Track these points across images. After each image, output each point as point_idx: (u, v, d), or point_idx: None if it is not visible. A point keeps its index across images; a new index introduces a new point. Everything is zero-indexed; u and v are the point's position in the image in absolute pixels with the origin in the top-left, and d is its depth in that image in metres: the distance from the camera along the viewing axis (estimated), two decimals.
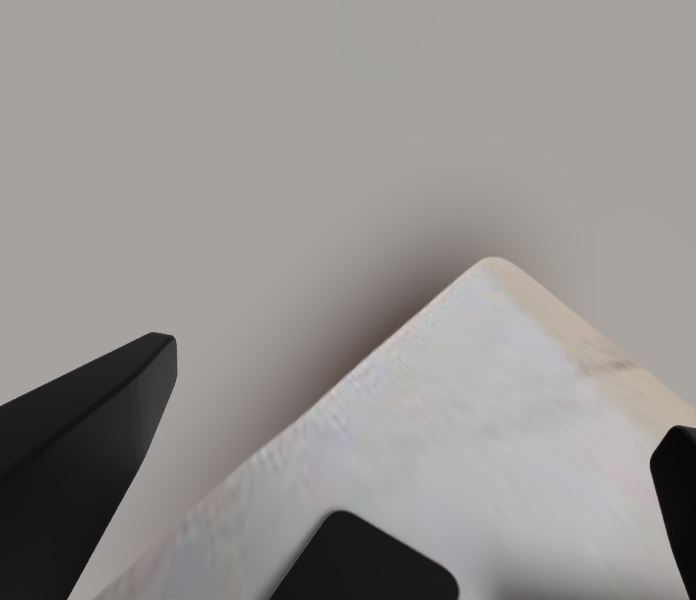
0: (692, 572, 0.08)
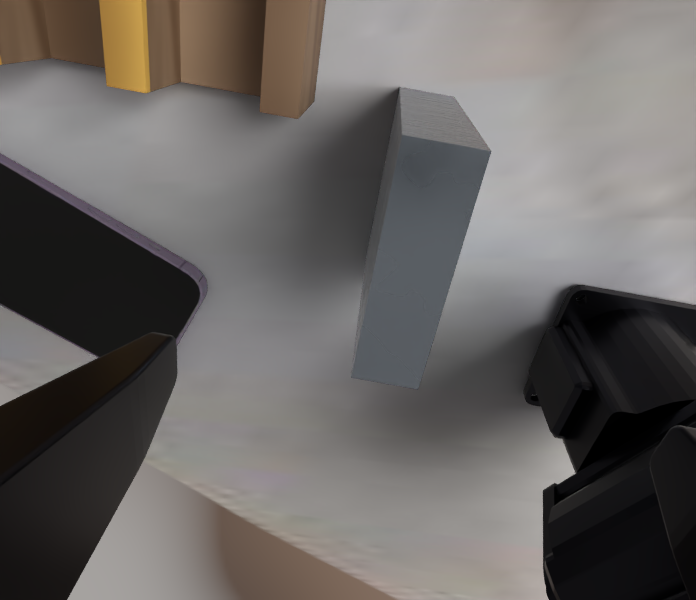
0: (692, 572, 0.08)
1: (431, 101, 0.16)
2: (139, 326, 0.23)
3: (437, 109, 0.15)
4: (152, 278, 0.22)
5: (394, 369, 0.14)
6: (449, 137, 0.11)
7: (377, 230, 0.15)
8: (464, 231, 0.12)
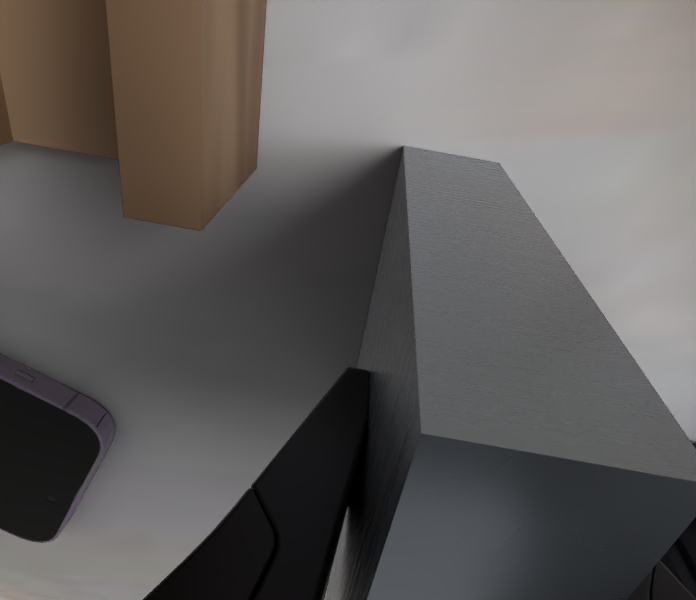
0: None
1: (466, 187, 0.08)
2: (18, 480, 0.16)
3: (484, 218, 0.07)
4: (26, 420, 0.14)
5: None
6: (561, 395, 0.04)
7: (359, 472, 0.07)
8: None
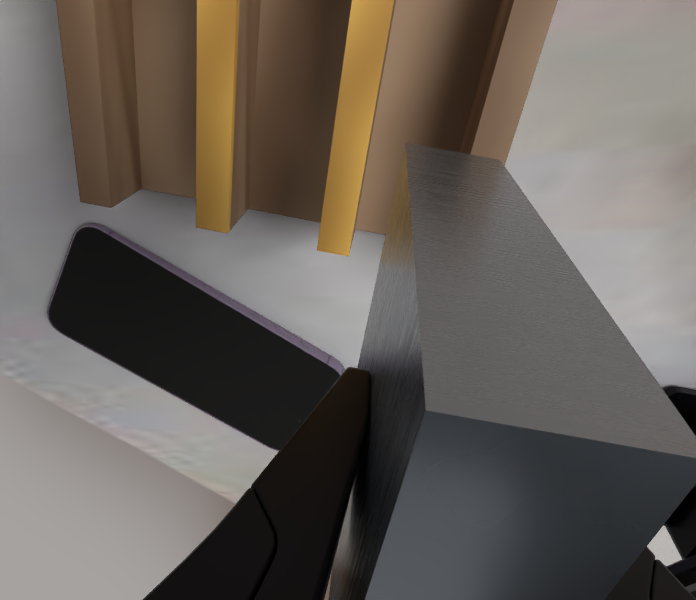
0: None
1: (467, 182, 0.08)
2: (283, 408, 0.27)
3: (485, 212, 0.07)
4: (300, 370, 0.25)
5: None
6: (559, 377, 0.04)
7: (363, 460, 0.07)
8: None
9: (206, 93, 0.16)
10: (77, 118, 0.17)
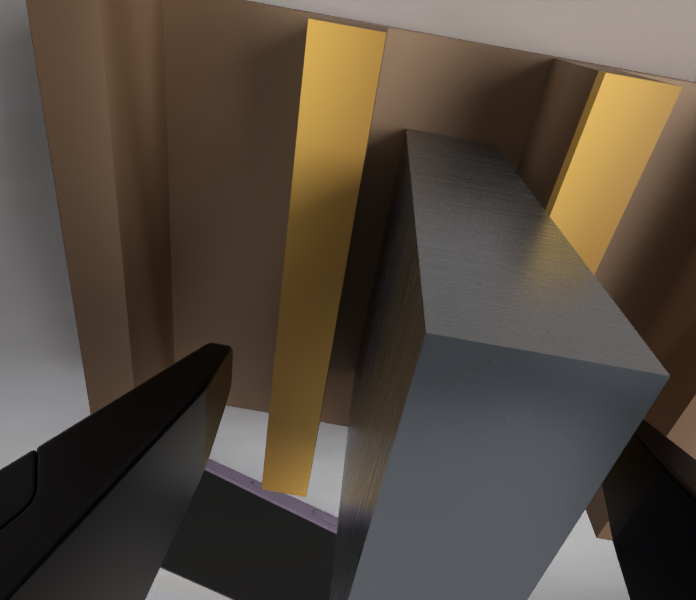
0: (629, 561, 0.08)
1: (464, 162, 0.09)
2: None
3: (480, 187, 0.08)
4: None
5: None
6: (542, 313, 0.05)
7: (367, 416, 0.08)
8: (571, 522, 0.05)
9: (290, 349, 0.11)
10: (93, 363, 0.12)
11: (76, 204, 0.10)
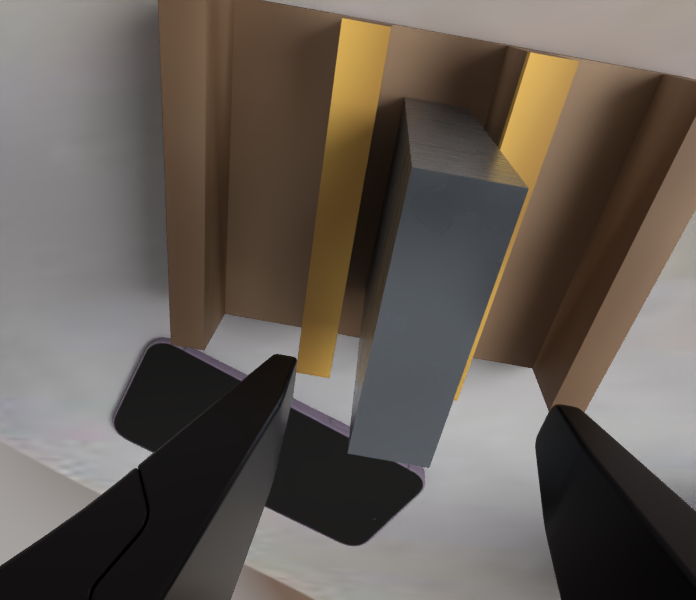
0: (558, 549, 0.08)
1: (443, 115, 0.13)
2: (358, 508, 0.26)
3: (451, 126, 0.12)
4: (379, 474, 0.24)
5: (400, 445, 0.12)
6: (472, 168, 0.09)
7: (379, 273, 0.12)
8: (490, 286, 0.09)
9: (322, 253, 0.15)
10: (176, 269, 0.16)
11: (176, 146, 0.14)
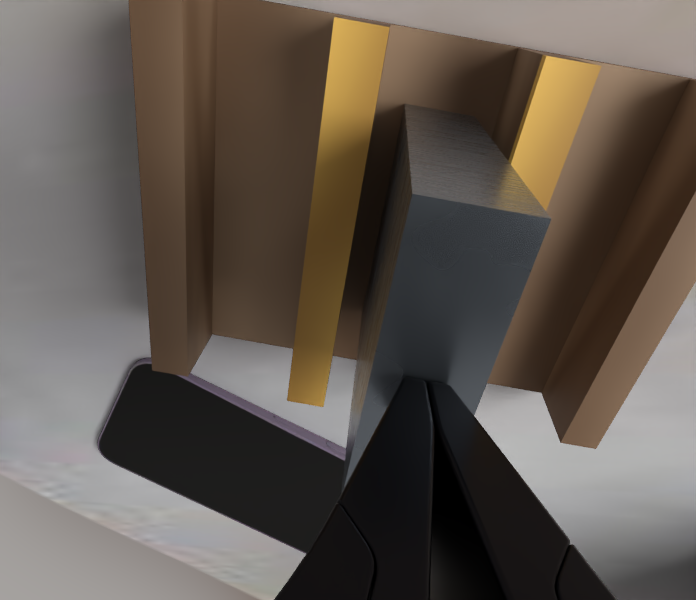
0: None
1: (447, 125, 0.12)
2: None
3: (457, 138, 0.11)
4: None
5: None
6: (483, 193, 0.08)
7: (375, 303, 0.11)
8: (504, 329, 0.08)
9: (314, 275, 0.14)
10: (155, 291, 0.15)
11: (153, 159, 0.13)
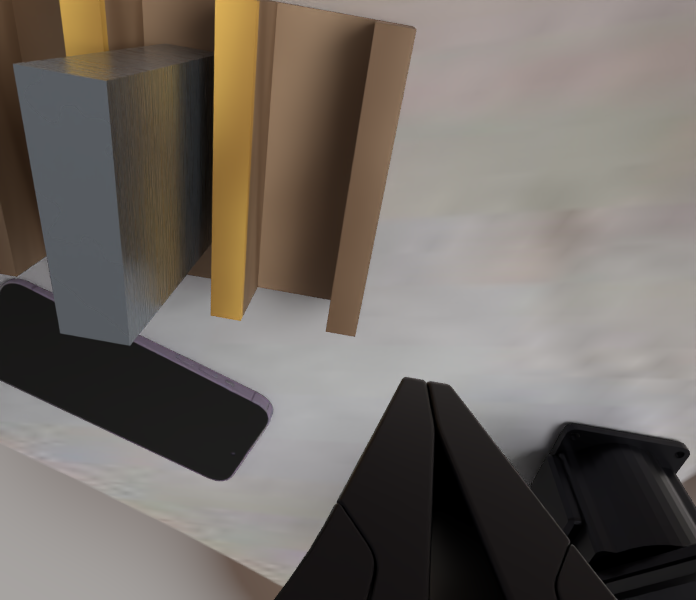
0: None
1: (169, 52, 0.15)
2: (216, 442, 0.28)
3: (153, 56, 0.14)
4: (227, 407, 0.26)
5: (99, 323, 0.14)
6: (82, 70, 0.11)
7: None
8: (112, 170, 0.11)
9: None
10: None
11: None
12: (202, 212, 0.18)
